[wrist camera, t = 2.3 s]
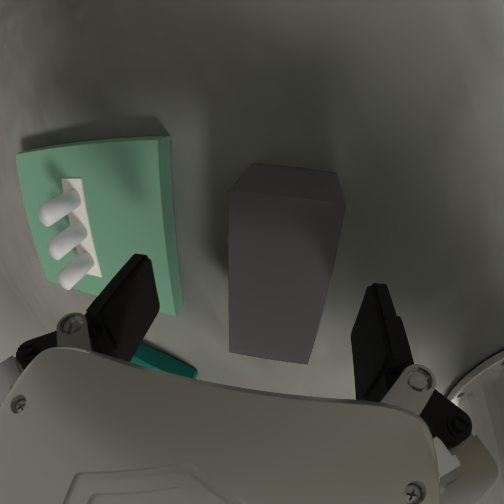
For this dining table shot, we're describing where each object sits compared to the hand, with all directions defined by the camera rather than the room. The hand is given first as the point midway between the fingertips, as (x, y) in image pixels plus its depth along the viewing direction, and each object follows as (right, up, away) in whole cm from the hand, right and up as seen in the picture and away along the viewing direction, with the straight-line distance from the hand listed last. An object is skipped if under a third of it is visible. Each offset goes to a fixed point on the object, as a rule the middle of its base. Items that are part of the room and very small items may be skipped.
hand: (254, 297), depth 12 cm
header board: (-12, +4, +7) cm, 14 cm away
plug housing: (+2, +2, +5) cm, 6 cm away
